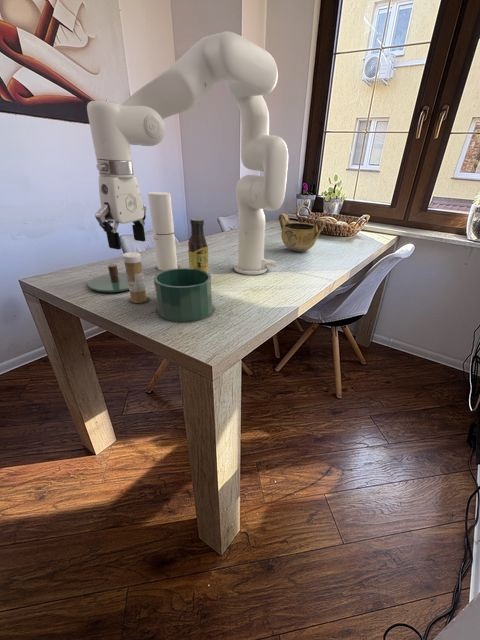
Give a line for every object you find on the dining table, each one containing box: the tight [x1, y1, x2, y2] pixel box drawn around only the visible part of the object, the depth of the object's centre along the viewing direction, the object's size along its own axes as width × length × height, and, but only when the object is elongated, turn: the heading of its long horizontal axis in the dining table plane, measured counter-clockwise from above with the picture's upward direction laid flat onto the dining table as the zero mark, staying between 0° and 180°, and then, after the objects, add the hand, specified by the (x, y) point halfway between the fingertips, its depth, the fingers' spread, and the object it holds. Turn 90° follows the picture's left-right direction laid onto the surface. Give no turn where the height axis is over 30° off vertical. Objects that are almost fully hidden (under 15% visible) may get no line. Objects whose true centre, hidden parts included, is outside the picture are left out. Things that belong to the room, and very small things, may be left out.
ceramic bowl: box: [278, 213, 327, 253], centre depth 142 cm, size 22×17×15 cm
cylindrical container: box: [147, 191, 178, 271], centre depth 109 cm, size 7×7×25 cm
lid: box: [87, 263, 130, 293], centre depth 97 cm, size 16×16×6 cm
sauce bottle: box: [187, 217, 209, 273], centre depth 100 cm, size 7×6×20 cm
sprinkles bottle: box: [122, 251, 148, 304], centre depth 86 cm, size 5×5×14 cm
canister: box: [153, 267, 213, 323], centre depth 84 cm, size 15×15×10 cm
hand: (128, 244), depth 81 cm, fingers open, 9 cm apart
